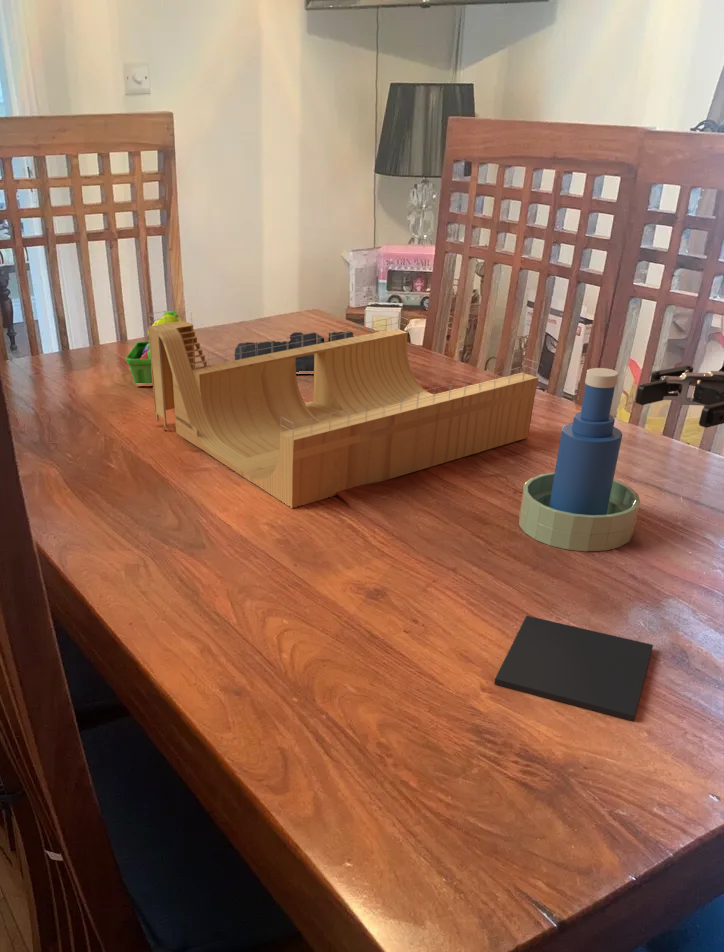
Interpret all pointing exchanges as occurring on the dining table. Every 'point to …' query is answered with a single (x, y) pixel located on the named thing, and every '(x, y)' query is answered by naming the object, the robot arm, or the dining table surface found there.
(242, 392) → the skate ramp
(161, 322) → the fruit basket
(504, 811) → the dining table surface
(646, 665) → the mat
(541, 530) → the bowl
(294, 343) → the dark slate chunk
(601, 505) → the bottle
